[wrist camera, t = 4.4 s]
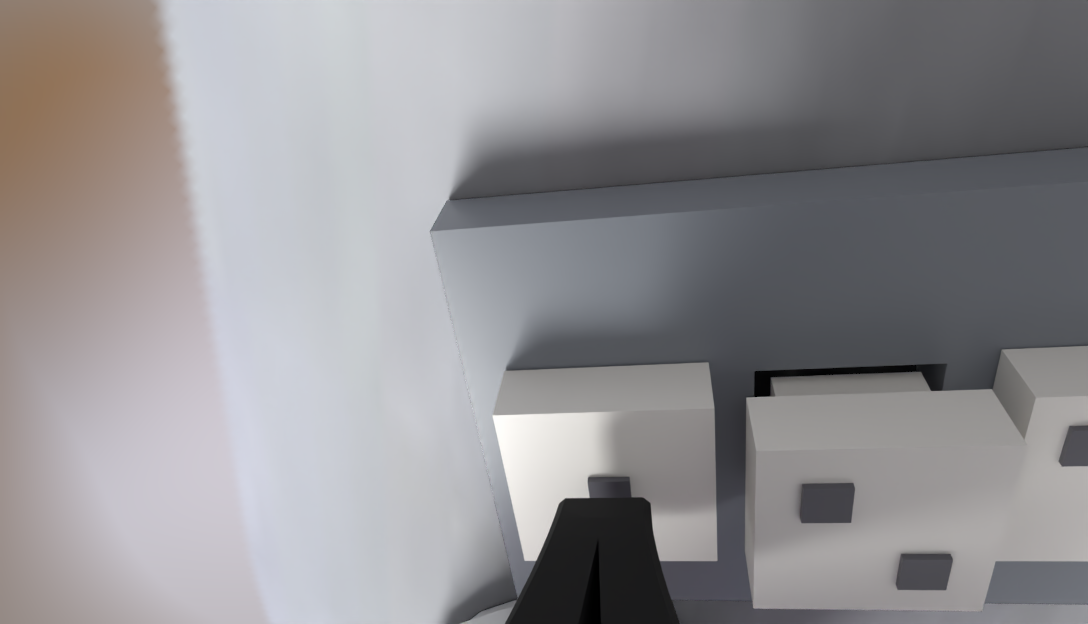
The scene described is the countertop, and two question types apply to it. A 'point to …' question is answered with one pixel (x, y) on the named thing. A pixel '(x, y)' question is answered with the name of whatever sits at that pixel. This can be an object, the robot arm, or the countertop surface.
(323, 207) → the countertop surface
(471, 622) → the supplement can
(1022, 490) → the tile three
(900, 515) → the tile two
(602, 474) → the tile one
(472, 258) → the keypad
